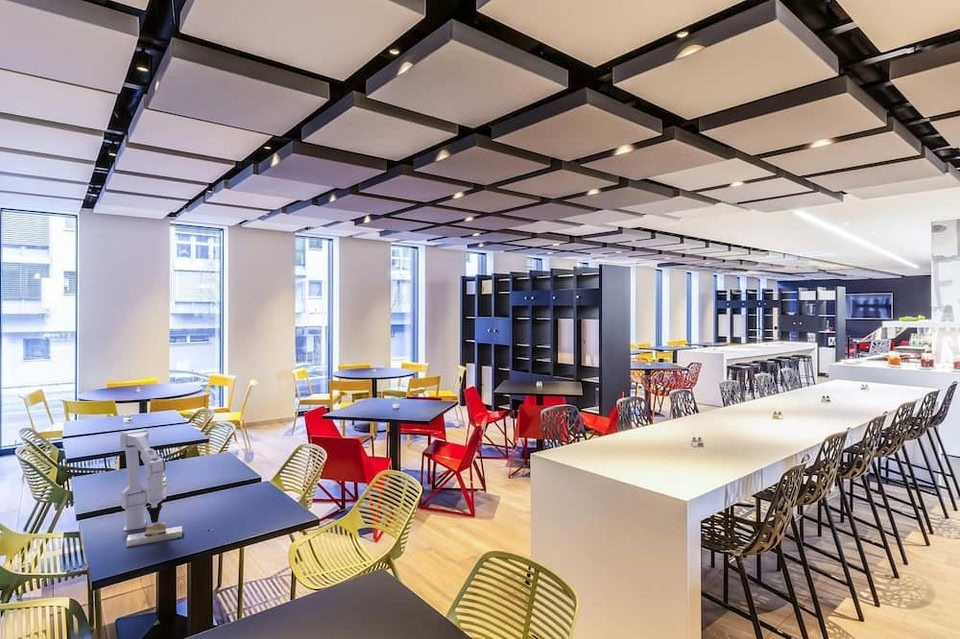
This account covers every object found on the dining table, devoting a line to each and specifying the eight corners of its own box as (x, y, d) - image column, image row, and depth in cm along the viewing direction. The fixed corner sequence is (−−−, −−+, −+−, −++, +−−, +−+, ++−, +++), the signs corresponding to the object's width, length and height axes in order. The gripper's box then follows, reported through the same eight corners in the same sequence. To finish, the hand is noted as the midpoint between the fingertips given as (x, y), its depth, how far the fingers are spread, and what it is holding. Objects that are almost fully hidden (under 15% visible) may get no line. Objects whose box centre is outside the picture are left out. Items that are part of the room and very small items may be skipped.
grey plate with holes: (128, 540, 223) (128, 535, 223) (182, 531, 233) (182, 525, 233) (126, 546, 217) (126, 540, 217) (181, 537, 227) (181, 531, 227)
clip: (146, 539, 225) (146, 525, 225) (165, 536, 228) (165, 522, 228) (145, 541, 222) (145, 527, 222) (165, 538, 225) (165, 524, 225)
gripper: (165, 491, 221) (165, 523, 221) (166, 482, 233) (166, 512, 233) (145, 493, 217) (145, 526, 217) (148, 484, 230) (148, 515, 230)
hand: (155, 519), depth 225 cm, fingers open, 7 cm apart
